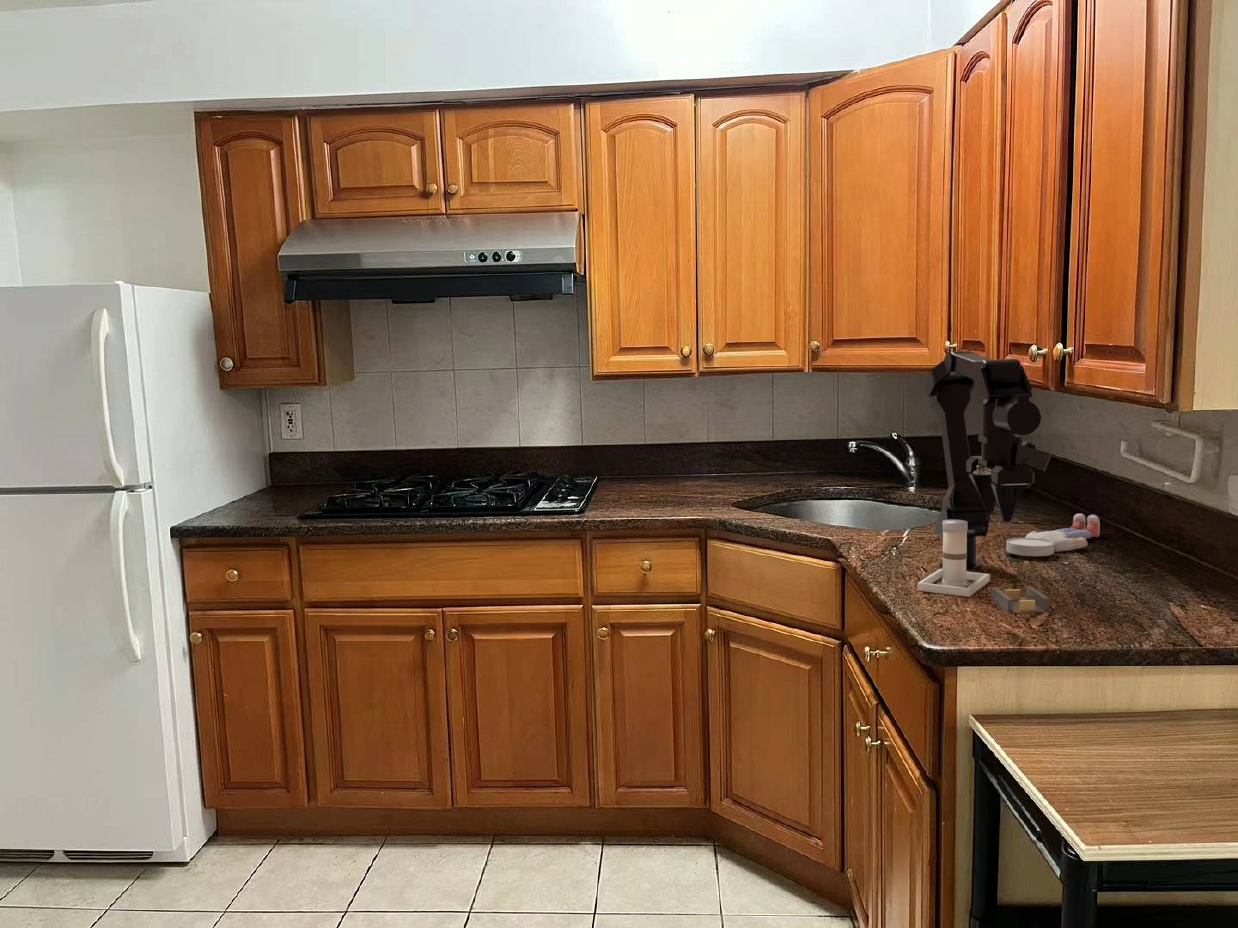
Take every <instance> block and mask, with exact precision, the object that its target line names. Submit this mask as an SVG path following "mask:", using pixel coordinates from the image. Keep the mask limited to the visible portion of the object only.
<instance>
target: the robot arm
mask: <svg viewBox="0 0 1238 928" xmlns="http://www.w3.org/2000/svg"><path fill="white" fill-rule="evenodd" d="M924 384H925V385H924V392H925V393H924V394H925V395H926V397H927V399H928V405H929V407H930V408H931V410H932V411H933V412H934V413H935V414H936V416H937V417H938V418H939V421H940V422H939V423H940V430H941V437H942V438H941V439H942V445H943V452H944V462H945V468H946V469H945V470H946V477H947V484H948V485H947V486H948V489H947V490H946V493H945V495H944V497H943V499H942V501H941V505H942V506H941V507H942V508H941V510H940V512H939V515H938V517H937V519H936V521H935V532H936V533H935V534H936V535H938V536H940V537H941V538H943V521H944V520H964V521H967V522H968V529H967V559H966V571H967V570H968V571H973V570H975V569H976V568H978V567H979V566H982V564H983V561H982V560H977V537H987V536H988V531H989V525H990V518H991V514H993V513H994V511H995V505H996V503H997V506H998V509H999V512H1000V516H1001V518H1002V520H1003V522H1004V523H1010V522H1011V521H1012V518H1013V515H1014V513H1015V512H1014V511H1015V509H1016V506H1017V503H1018V500H1019V498H1020V495H1021V493H1022V492H1024V491H1025V490H1026V489H1027V488H1030V487H1031V486H1032V484H1035V477H1036V472H1035V471H1034V470H1033V469H1032V468H1034V469H1037V470H1040V471H1043V472H1045V471H1046V470H1047V467H1048V464H1049V462H1050V459H1051V456H1052V454H1051V453H1047V452H1045V451H1043V450H1042V451H1041V450H1039V449H1037V445H1036V444H1035V443H1031V442H1029V441H1025V440H1024V441H1023V439H1022V438H1021V436H1026V435H1027V436H1028V435H1030V434H1032V433H1034V432H1035V431H1036V430H1037V429H1038V428H1039V426H1040V424H1041V422H1042V414H1041V411H1040V409H1039V408H1038V406H1037V405H1036V404H1035V403H1033V402H1031V401H1030V399H1032V397H1033V393H1032V391H1033V386H1032V385H1031V383H1030V380H1029V378H1028V376H1027V374H1026V371H1025V368H1024V366H1023V365H1022V364H1021V362H1020V360H1019V359H1018V358H1005V359H1004V358H1002V359H1000V358H999V359H991V358H988V357H986V356H981V355H979V354H976V353H975V352H973V351H970V350H963V351H962V350H960V351H950V352H948V353H946V354H945V356H944V359H943V360H942V361H941V362H940V363H938V364H937V365H936V366H934V367H933V368H931V370H930V371H929V373H928V375H927V378H926V380H925V383H924ZM974 388H977V389H978V392H979V393H980V395H981V396H980V399H979V404H981V435H980V434H979V435H977V436H978V437H977V441H978V442H981V455H974V456H971V455H970V448H969V447H970V446H969V438H968V433H967V432H968V431H967V430H968V429H967V424H966V417H965V413H966V410H967V407H968V406H969V404H970V402H971V398H972V397H971V393H972V391H973V390H974ZM1025 464H1026V465H1025ZM1027 465H1028V466H1027ZM939 567H940V568H941V567H942V568H943V562H941V563H940V564H939Z"/></svg>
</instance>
